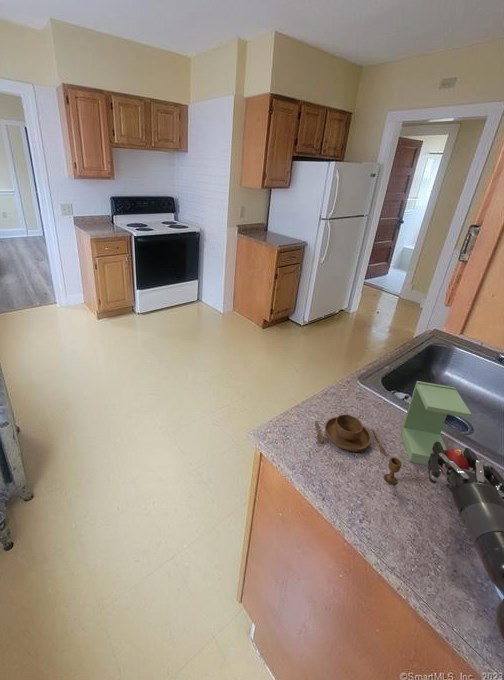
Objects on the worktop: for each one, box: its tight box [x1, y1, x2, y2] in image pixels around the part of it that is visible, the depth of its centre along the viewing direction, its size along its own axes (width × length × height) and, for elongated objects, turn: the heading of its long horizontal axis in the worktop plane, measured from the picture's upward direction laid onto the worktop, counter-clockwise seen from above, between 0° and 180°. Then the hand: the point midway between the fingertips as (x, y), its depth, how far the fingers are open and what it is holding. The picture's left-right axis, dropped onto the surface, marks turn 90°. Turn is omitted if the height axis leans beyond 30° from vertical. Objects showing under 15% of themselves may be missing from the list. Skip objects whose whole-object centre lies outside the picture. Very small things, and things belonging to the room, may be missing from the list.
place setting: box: [314, 414, 403, 486], centre depth 85 cm, size 18×20×6 cm
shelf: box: [400, 380, 473, 467], centre depth 82 cm, size 10×9×18 cm
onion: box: [439, 448, 471, 477], centre depth 70 cm, size 6×6×8 cm
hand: (451, 447), depth 71 cm, fingers closed on onion, 5 cm apart
